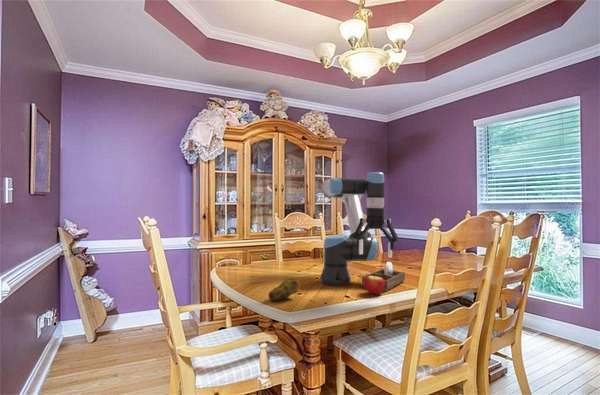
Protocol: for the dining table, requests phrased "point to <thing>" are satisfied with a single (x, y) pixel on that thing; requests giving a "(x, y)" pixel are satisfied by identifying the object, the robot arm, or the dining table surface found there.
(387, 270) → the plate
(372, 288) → the apple
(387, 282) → the wooden tray
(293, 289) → the avocado
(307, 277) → the dining table surface
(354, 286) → the dining table surface
